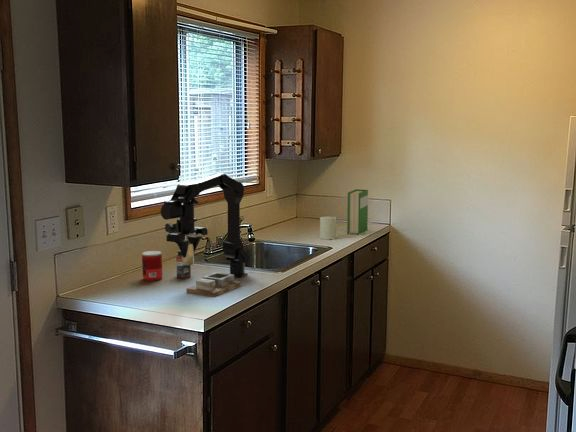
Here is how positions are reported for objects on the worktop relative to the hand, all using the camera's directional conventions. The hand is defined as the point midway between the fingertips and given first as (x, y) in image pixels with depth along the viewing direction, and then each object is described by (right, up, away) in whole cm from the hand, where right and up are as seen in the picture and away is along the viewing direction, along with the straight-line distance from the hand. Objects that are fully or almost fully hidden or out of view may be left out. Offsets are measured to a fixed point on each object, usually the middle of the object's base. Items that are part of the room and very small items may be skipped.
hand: (188, 256), depth 245 cm
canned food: (-17, -11, +17) cm, 26 cm away
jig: (+10, -13, +1) cm, 16 cm away
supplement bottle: (-5, -10, +20) cm, 23 cm away
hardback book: (+79, +6, +124) cm, 147 cm away
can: (+61, +3, +105) cm, 122 cm away
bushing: (0, -3, 0) cm, 3 cm away
